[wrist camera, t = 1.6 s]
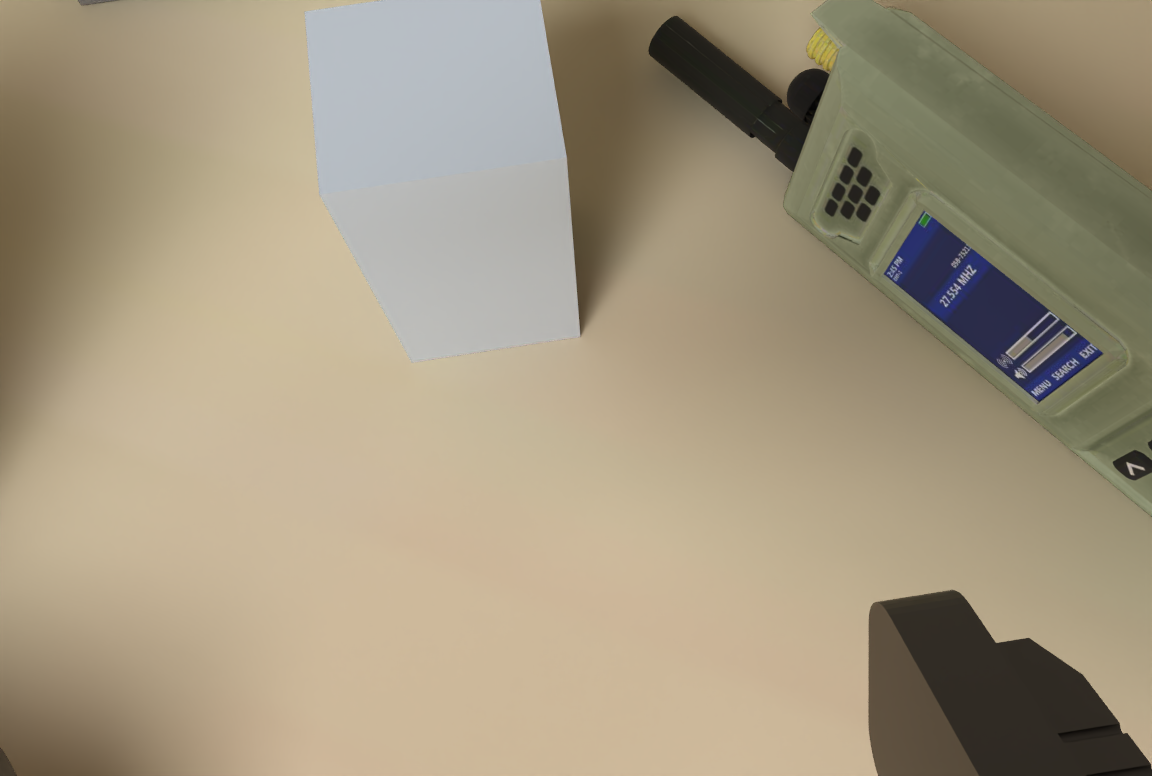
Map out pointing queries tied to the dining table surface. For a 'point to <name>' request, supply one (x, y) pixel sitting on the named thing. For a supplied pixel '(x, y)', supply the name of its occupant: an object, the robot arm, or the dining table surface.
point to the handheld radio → (964, 216)
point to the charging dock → (92, 1)
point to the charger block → (447, 168)
